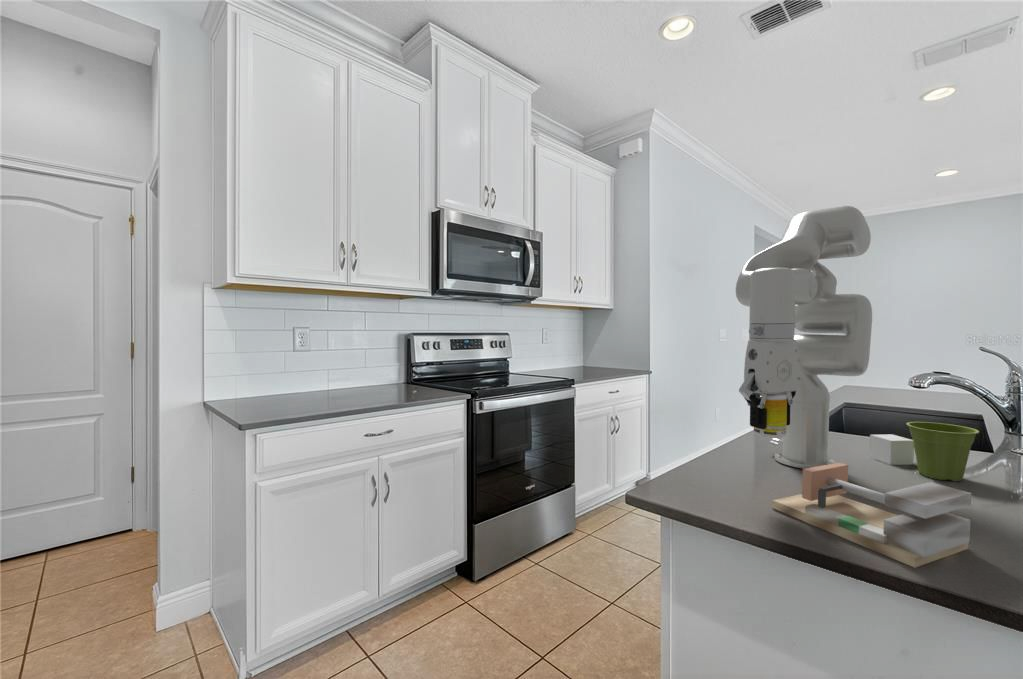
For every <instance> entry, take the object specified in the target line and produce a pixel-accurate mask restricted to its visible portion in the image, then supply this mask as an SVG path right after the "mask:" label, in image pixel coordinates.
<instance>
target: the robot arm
mask: <svg viewBox="0 0 1023 679" xmlns="http://www.w3.org/2000/svg"><path fill="white" fill-rule="evenodd" d="M871 238H872V237H871V230H870V227H869V225H868V222H867V220H866V218H865V216H864V214H863V213H862V211H860V209H858V208H856V207H854V206H850V205H843V206H836V207H828V208H821V209H814V210H807V211H804V212H801V213H798V214H796V215H795V216H794V217H793V218H792V219H791V220H790V221H789V222H788V224H787V226H786V228H785V230H784V232H783V234H782V237H781V238H780V241H779V242H778V243H775V244H773V245H772V246H769V247H768V248H766V249H765V250H762V251H760V252H758V253H757V254H755V255H753V256H752V257H750V259H748V260H747V261H746V262H745V264H744V266H743V267H742V269H741V271H740V272H739V276H738V278H737V281H736V283H735V296H736V298H737V300H738V302H739V303H740V304H741V305H743V306H745V307H749V321H748V322H749V324H748V325H749V327H748V328H749V329H748V337H749V338H748V341H747V346H746V351H745V358H744V367H743V368H744V370H743V378H744V379H743V382H742V384H741V386H740V387H739V389H738V392H739V393H740V395H741V396H742V397H743V398H744V399H745V400H744V401H746V402H747V406H748V407H749V425H750V427H752V428H754V427H756V428H760V429H766V426H767V409H766V408H764V405H765V401H766V398H767V394H776V393H784V394H786V396H787V433H786V436H785V437H782V438H771V440H770V441H769V443H768V445H769V447H773V448H777V452H775V453H774V459H775V461H777V462H778V463H780V464H783V465H786V466H789V467H792V468H798V469H802V470H803V469H806V468H812V467H817V466H823V465H828V464H834V463H836V461H835V460H833V459H832V458H830V457H828V456H829V432H830V431H829V428H830V426H829V425H830V401H831V400H830V391H829V388H828V387H827V385H825V383H824V382H823V381H822V380H821V379H820V378H819V376H820V375H821V376H823V375H824V376H825V375H826V376H839V377H858V376H862V375H864V374H865V373H866V371H868V370H867V369H868V366H869V363H870V356H871V355H870V354H871V339H872V327H873V308H872V304H871V301H870V299H869V298H868V297H866V295H863V294H859V293H842V294H841V293H839V294H836V293H837V284H838V282H837V277H836V276H835V274H834V273H833V272H832V271H831V270H830V269H829V268H827V267H826V266H825V265H824V264H822V263H820V262H819V260H826V259H827V260H828V259H829V260H830V259H844V258H854V257H859V256H860V257H861V256H862V255H864V254H865V253H867V251H868V249H869V248H870V245H871V240H872V239H871ZM795 330H796V331H798V332H803V334H801V333H800V334H795ZM808 333H809V334H808ZM810 333H811V334H810ZM841 334H842V335H841ZM757 394H758V395H760V397H759V399H758V398H757V397H756V395H757Z"/></svg>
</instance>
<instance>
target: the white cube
mask: <svg viewBox="0 0 1023 679" xmlns="http://www.w3.org/2000/svg"><path fill="white" fill-rule="evenodd" d="M914 454H915V449H914V443H913V439H910V438H908V437H907V438H906V437H904V436H899V435H897V434H893V433H892V434H891V433H890V434H889V433H888V434H870V435H869V454H868V455H869V458H870V457H871V458H870V459H873V458H874V459H873V460H875V459H876V461H878V460H879V462H882V463H884V464H887V465H890V466H897V465H902V466H903V465H914V462H915V460H914V459H915V458H914V456H915V455H914Z"/></svg>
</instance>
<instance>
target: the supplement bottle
mask: <svg viewBox="0 0 1023 679" xmlns="http://www.w3.org/2000/svg"><path fill="white" fill-rule="evenodd" d="M756 397H757V398H758V399H759V397H760V395H758V394H757V395H756ZM764 408H766V409H767V426H766V429H760V428H756V427H753V433H754V434H755V435H757V436H759V437H762V438H769V439H772V438H777V439H782V437H785V436H786V433H787V396H786V394H784V393H776V394H767V398H766V401H765V405H764Z"/></svg>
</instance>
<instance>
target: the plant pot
mask: <svg viewBox="0 0 1023 679" xmlns="http://www.w3.org/2000/svg"><path fill="white" fill-rule="evenodd" d="M906 426H907V427H908V428H909V433H910V436H911V437H912V440H913V443H914V454H915V458H916V465H917V470H918V473H919V474H921V475H922V476H924V477H927V478H932V479H935V480H940V481H947V480H950V481H952V482H959V481H960V482H961V481H963V479H964V475H965V472H966V469H967V468H966V467H967V463H968V460H969V456H970V453H971V449H972V445H973V444H974V441H975V438H976V435H977V434H980V431H979V430H978V429H976V428H972V427H967V426H963V425H955V424H949V423H941V422H929V421H910V422H909V421H908V422H906Z"/></svg>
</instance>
